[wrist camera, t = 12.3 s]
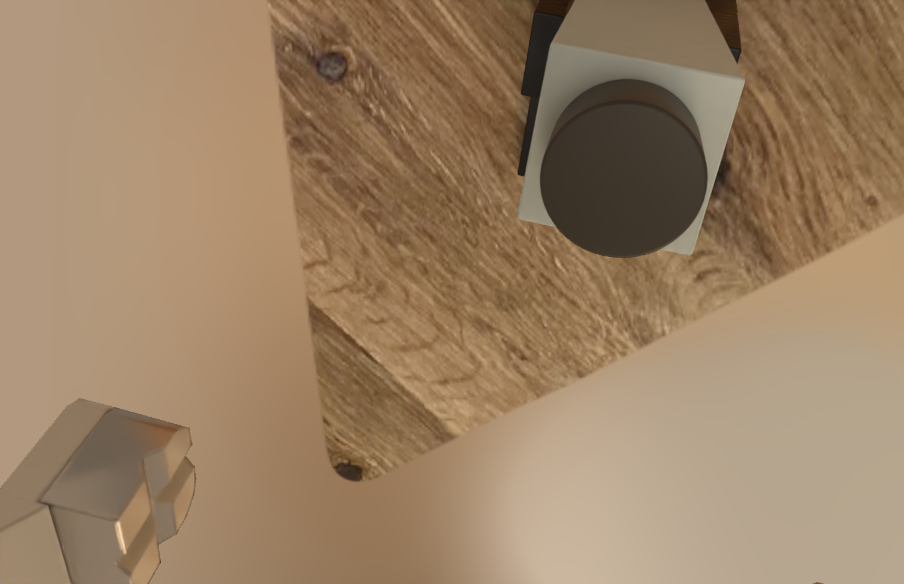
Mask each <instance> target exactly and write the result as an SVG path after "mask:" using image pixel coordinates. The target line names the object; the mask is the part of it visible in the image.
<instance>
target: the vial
mask: <svg viewBox="0 0 904 584" xmlns="http://www.w3.org/2000/svg"><path fill="white" fill-rule="evenodd" d="M744 83H745V78H744V76H743V75H742V73H741V71H740V69H739V67H738V65H737V63H736V61H735V59H734V57H733V55H732V53H731V51H730V49H729V47H728V45H727V43H726V41H725V39H724V37H723V35H722V33H721V31H720V29H719V27H718V25H717V23H716V21H715V19H714V17H713V15H712V13H711V11H710V9H709V7H708V5H707V3H706V2H705V0H575V1H574V3H573V5H572V6H571V8H570V10H569V12H568V14H567V15H566V17H565V19H564V21H563V23H562V24H561V26H560V28H559V30H558V32H557V33H556V35H555V37H554V39H553V41H552V42H551V44H550V48H549V53H548V59H547V64H546V69H545V74H544V79H543V84H542V89H541V94H540V100H539V105H538V110H537V115H536V120H535V125H534V130H533V136H532V141H531V146H530V151H529V156H528V161H527V166H526V172H525V177H524V182H523V187H522V192H521V197H520V202H519V207H518V213H517V218H518V219H520V220H525V221H530V222H534V223H539V224H544V225H548V226H553V227H557V228H558V230H559V231H560V232H561V233H562V234H563V235H564V236H565V237H566V238H568V239H569V240H570V241H572V242H573V243H574V244H576V245H578V246H579V247H581V248H583V249H585V250H587V251H590V252H592V253H595V254H599V255H602V256H608V257H617V258H627V257H637V256H641V255H646V254H649V253H652V252H655V251H657V250H659V249H661V250H666V251H671V252H676V253H680V254H685V255H691V254H692V253H693V250H694V247H695V244H696V241H697V237H698V234H699V231H700V228H701V224H702V221H703V218H704V214H705V211H706V208H707V205H708V201H709V198H710V195H711V191H712V188H713V185H714V182H715V178H716V175H717V172H718V168H719V165H720V162H721V159H722V155H723V152H724V149H725V146H726V142H727V139H728V136H729V132H730V129H731V126H732V123H733V119H734V116H735V113H736V109H737V106H738V103H739V100H740V96H741V93H742V90H743V86H744Z"/></svg>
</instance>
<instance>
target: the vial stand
mask: <svg viewBox="0 0 904 584" xmlns="http://www.w3.org/2000/svg"><path fill="white" fill-rule="evenodd" d="M574 1H575V0H539V3H538V5H537V7H536V10H535V12H534V17H533V23H532V29H531V35H530V41H529V48H528V54H527V60H526V66H525V72H524V78H523V84H522V90H521V94H522V95H526V96H531V99H530V105H529V111H528V117H527V122H526V128H525V134H524V140H523V145H522V151H521V157H520V163H519V168H518V175H521V176H525V172H526V166H527V161H528V156H529V151H530V146H531V141H532V136H533V130H534V125H535V120H536V115H537V110H538V105H539V100H540V94H541V89H542V84H543V79H544V74H545V69H546V64H547V59H548V53H549V48H550V44H551V42H552V41H553V39H554V37H555V35H556V33H557V32H558V30H559V28H560V26H561V24H562V23H563V21H564V19H565V17H566V15H567V14H568V12H569V10H570V8H571V6H572V5H573V3H574ZM705 2H706V3H707V5H708V7H709V9H710V11H711V13H712V15H713V17H714V19H715V21H716V23H717V25H718V27H719V29H720V31H721V33H722V35H723V37H724V39H725V41H726V43H727V45H728V47H729V49H730V51H731V53H732V55H733V57H734V59H735V61H736V63H738V60H739V57H740V54H741V42H740V33H739V24H738V15H737V6H736V0H706V1H705Z"/></svg>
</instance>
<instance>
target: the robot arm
mask: <svg viewBox="0 0 904 584" xmlns="http://www.w3.org/2000/svg"><path fill="white" fill-rule="evenodd" d="M191 446H192V440H191V434H190V429H189V428H188V427H184V426H181V425H177V424H173V423H170V422H166V421H163V420H159V419H155V418H152V417H148V416H144V415H141V414H137V413H133V412H129V411H126V410H123V409H119V408H116V407H112V406H108V405H104V404H100V403H96V402H92V401H88V400H84V399H80V398H79V399H78V400H76V401H74V402H73V403H71V404H70V405H68V406H67V407H66V408H65V409H64V410H63V412H62V413H61V414H60V415H59V416H58V418H57V419H56V420H55V421H54V423H53V424H52V425H51V427H50V428H49V429H48V430H47V431H46V433H45V434H44V435H43V436H42V437H41V439H40V440H39V441H38V442H37V444H36V445H35V446H34V447H33V449H32V450H31V451H30V452H29V454H28V455H27V456H26V457H25V458H24V460H23V461H22V462H21V464H20V465H19V466H18V467H17V468H16V470H15V471H14V472H13V473H12V474H11V476H10V477H9V478H8V479H7V481H6V482H5V483H4V484H3V485H2V487H1V488H0V584H149V582H150V581H151V579H152V577H153V575H154V574H155V572H156V570H157V568H158V567H159V565H160V563H161V560H160V553H159V547H158V545H159V544H161V543H162V542H164V541H166V540H167V539H169V538H171V537H173V536H174V535H176V534H177V533H178V531H179V529H180V528H181V526H182V524H183V522H184V520H185V518H186V516H187V514H188V511H189V508H190V505H191V502H192V499H193V496H194V492H195V483H196V474H195V466H194V465H193V464H192V463H191V462H190V461H189V459H188V458H187V457H186V454H187V452H188V450H189V449H190V447H191ZM814 584H822V583H818V582H817V583H814Z"/></svg>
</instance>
